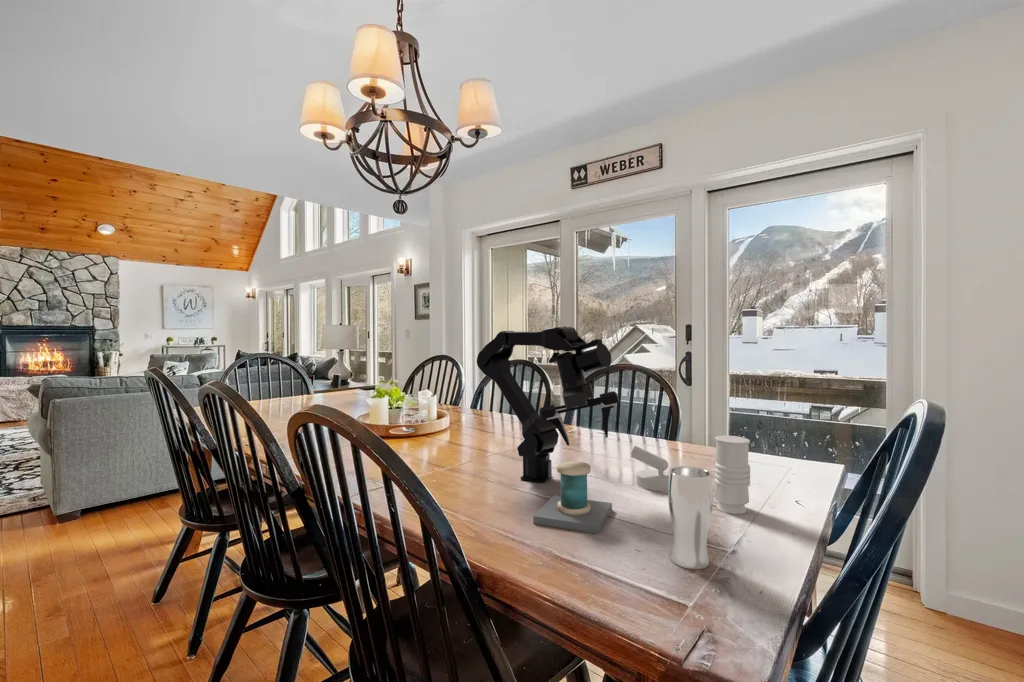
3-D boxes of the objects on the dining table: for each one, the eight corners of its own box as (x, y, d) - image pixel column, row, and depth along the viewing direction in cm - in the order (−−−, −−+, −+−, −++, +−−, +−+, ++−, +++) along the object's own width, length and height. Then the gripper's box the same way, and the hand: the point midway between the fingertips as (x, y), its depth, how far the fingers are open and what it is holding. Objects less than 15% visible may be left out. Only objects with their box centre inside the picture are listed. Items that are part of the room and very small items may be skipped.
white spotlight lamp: (629, 441, 126) (670, 443, 124) (629, 478, 126) (670, 480, 124) (631, 449, 117) (674, 451, 115) (630, 489, 118) (674, 491, 116)
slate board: (533, 523, 97) (533, 515, 97) (553, 501, 109) (553, 495, 109) (598, 534, 92) (598, 526, 92) (612, 510, 104) (612, 503, 104)
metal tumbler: (661, 552, 85) (661, 466, 84) (699, 550, 85) (700, 465, 85) (678, 572, 78) (678, 478, 77) (720, 570, 78) (721, 477, 78)
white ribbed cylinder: (754, 515, 101) (754, 443, 100) (718, 513, 102) (718, 442, 101) (744, 503, 107) (745, 436, 107) (711, 501, 109) (711, 434, 108)
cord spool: (550, 509, 101) (550, 465, 100) (571, 500, 106) (571, 459, 105) (576, 518, 96) (576, 472, 96) (597, 509, 101) (597, 465, 100)
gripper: (528, 384, 112) (543, 453, 109) (609, 365, 108) (626, 435, 106) (537, 386, 123) (551, 448, 120) (610, 368, 119) (627, 432, 116)
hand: (587, 441), depth 115 cm, fingers open, 9 cm apart
